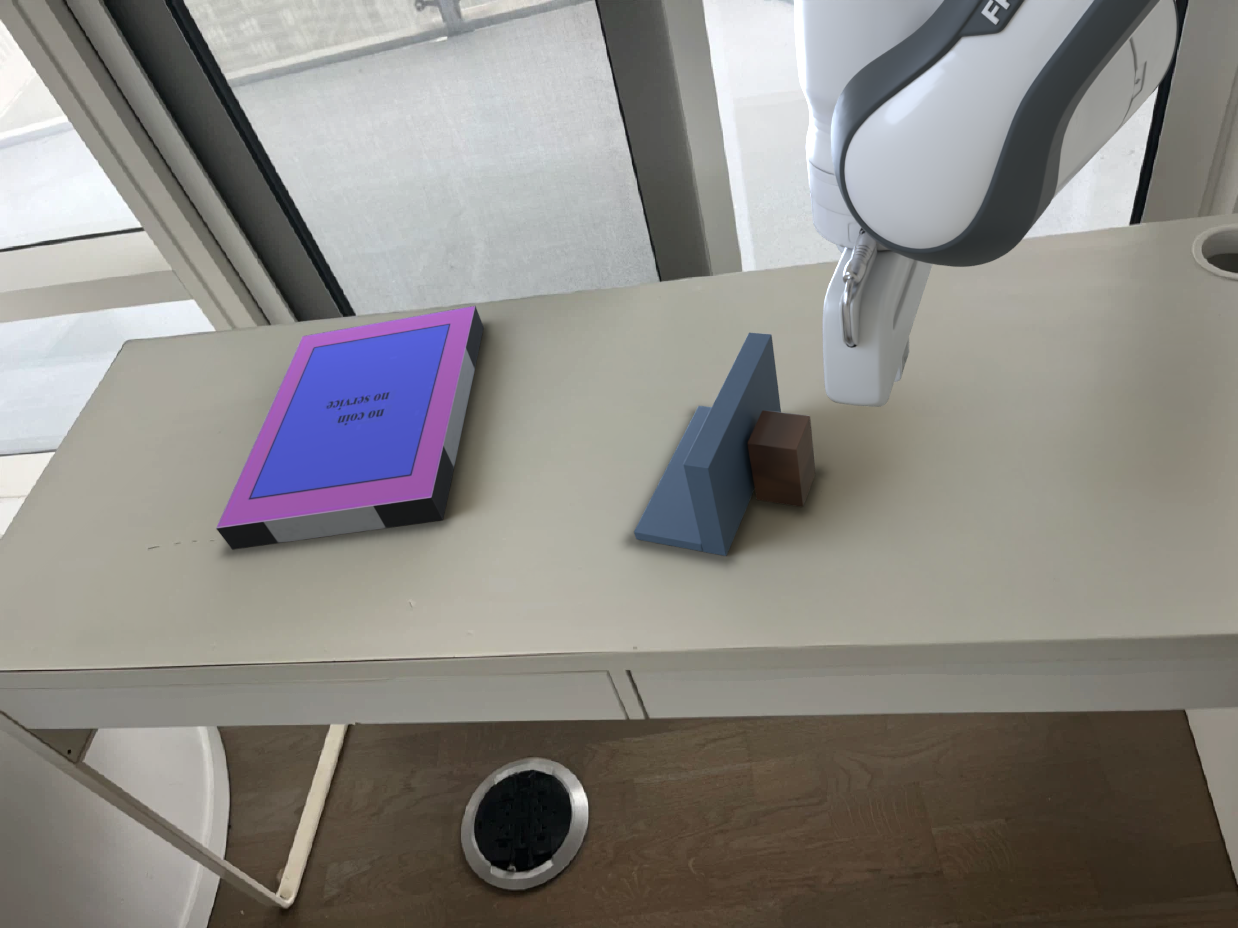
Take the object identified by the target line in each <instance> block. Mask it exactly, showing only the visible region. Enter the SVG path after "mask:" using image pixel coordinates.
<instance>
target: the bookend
mask: <svg viewBox="0 0 1238 928" xmlns="http://www.w3.org/2000/svg"><path fill="white" fill-rule="evenodd" d="M773 342H774V341H773V335H772V333H762V332H761V333H760V332H748V333H747V336H746V337H745V340H744V341H743V344H742V346H741V347H740V350H739V352H738V354H737V356H736V357H735V359H734V362H733V364H732V366H731V368H730V370H729V371H728V373H727V375H726V378H725V380H724V382H723V383H722V386H721V387H720V390H719V391H718V393H717V395H716V398H715V399H714V402H713V403H712V406H705V405H697V407H696V409H695V411H694V414H693V416H692V417H691V420H690V421H689V423H688V425H687V427H686V429H685V431H684V433H683V435H682V437H681V439H680V440H679V443H678V445H677V446H676V448H675V451H674V453H673V454H672V456H671V459H670V460H669V462H668V465H667V466H666V468H665V470H664V472H663V474H662V476H661V478H660V480H659V482H658V484H657V485H656V487H655V489H654V491H653V493H652V495H651V498H650V499H649V501H648V503H647V505H646V507H645V509H644V511H643V513H642V514H641V517H640V519H639V521H638V522H637V525H636V526H635V529H634V531H633V533H634V537H635V539H636V540H639V541H644V542H649V543H653V544H654V543H655V544H659V545H660V544H661V545H664V546H671V547H676V548H681V549H687V550H692V551H698V552H703V553H707V554H713V555H718V556H723V557H727V556H728V553H729V551H730V549H731V546H732V544H733V542H734V539H735V536H736V535H737V532H738V529H739V527H740V526H741V523H742V520H743V518H744V515H745V513H746V510H747V508H748V506H749V503H750V501H751V499H752V497H753V494H754V492H755V487H754V481H753V475H752V468H751V462H750V456H749V450H748V444H747V443H748V441H749V438H750V436H751V434H752V432H753V430H754V427H755V425H756V423H757V421H758V419H759V416H760V414H761V412H762V410H765V411H773V412H782V409H781V407H782V406H781V400H780V392H779V384H778V375H777V368H776V359H775V351H774V343H773Z"/></svg>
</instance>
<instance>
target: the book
mask: <svg viewBox="0 0 1238 928" xmlns="http://www.w3.org/2000/svg"><path fill="white" fill-rule="evenodd" d="M483 332H484V325H483V322H482V320H481V316H480V314H479V311H478V309H477V306H476V305H469V306H464V307H460V308H453V309H448V310H442V311H437V312H430V313H425V314H418V315H413V316H408V317H402V318H396V319H391V320H385V321H380V322H375V323H374V322H373V323H369V324H363V325H357V326H350V327H346V328H340V329H335V330H328V331H322V332H317V333H312V334H305V335H302V336H301V339H300V340H299V343H298V345H297V347H296V349H295V352H294V354H293V356H292V359H291V361H290V363H289V365H288V368H287V370H286V372H285V374H284V377H283V378H282V381H281V383H280V385H279V386H278V390H277V391H276V394H275V397H274V399H273V401H272V403H271V406H270V407H269V409H268V412H267V414H266V416H265V418H264V421H263V423H262V425H261V428H260V430H259V432H258V433H257V436H256V439H255V441H254V443H253V445H252V448H251V449H250V452H249V454H248V456H247V459H246V461H245V463H244V465H243V468H242V469H241V472H240V474H239V477H238V479H237V481H236V483H235V485H234V487H233V489H232V491H231V494H230V496H229V498H228V501H227V503H226V505H225V507H224V510H223V511H222V514H221V517H220V518H219V520H218V523H217V525H216V527H215V529H216V531H217V532H218V533H219V534H220V536H221V537H222V538H223V540H224V541H225V542H226V543H227V545H228V546H229V547H230V549H231V550H238V549H245V548H253V547H259V546H267V545H274V544H281V543H288V542H289V543H290V542H296V541H303V540H310V539H317V538H325V537H331V536H338V535H347V534H354V533H359V532H360V533H361V532H368V531H376V530H382V529H389V528H396V527H403V526H410V525H411V526H412V525H418V524H425V523H432V522H440V521H443V520H444V518H445V513H446V512H445V511H446V507H447V502H448V498H449V493H450V490H451V489H450V488H451V484H452V480H453V474H454V471H455V465H456V460H457V456H458V451H459V446H460V441H461V438H462V437H461V436H462V431H463V427H464V422H465V418H466V413H467V407H468V404H469V399H470V394H471V389H472V385H473V380H474V374H475V370H476V365H477V360H478V355H479V351H480V346H481V343H482V342H481V341H482V336H483Z"/></svg>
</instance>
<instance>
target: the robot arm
mask: <svg viewBox="0 0 1238 928" xmlns="http://www.w3.org/2000/svg"><path fill="white" fill-rule="evenodd" d="M793 7H794V8H793V11H794V12H793V16H794V34H795V49H796V50H795V51H796V61H797V72H798V78H799V84H800V87H801V89H802V92H803V94H804V97H805V100H806V102H807V106H808V111H809V124H808V130H807V133H806V141H805V142H806V143H805V152H806V164H807V166H806V167H807V174H808V176H807V177H808V186H809V194H810V206H811V216H812V217H811V218H812V223H813V227H814V229H815V230H816V232H817V233H818V235H819V236H821V237H822V238H823V239H825V240H826V241H828V242H830V243H832V244H834V245H835V246H836V248H837V250H838V251H839V252H840V253H841V256H840V259H839V260H838V263H837V266H836V268H835V270H834V273H833V275H832V277H831V279H830V282H829V283H828V286H827V290H826V292H825V297H824V302H823V309H822V328H821V329H822V332H821V333H822V356H823V357H822V361H823V362H822V363H823V364H822V365H823V380H824V381H823V383H824V391H825V394H826V396H827V397H828V398H829V400H830V401H832V402H833V403H835V404H840V405H847V406H855V407H856V406H857V407H869V408H870V407H871V408H880V407H883V406H885V405H886V404H887V403H888V402H889V400H890V396H891V393H892V390H893V387H894V383H896V382H897V383H898V382H899V381H901V379H902V376H903V373H904V370H905V366H906V363H907V360H908V357H909V354H910V335H911V332H912V328H913V326H914V323H915V319H916V317H917V314H918V310H919V307H920V304H921V300H922V299H923V295H924V293H925V288H926V286H927V283H928V279H929V277H930V274H931V271H932V268H933V265H935V266H945V267H953V268H966V267H967V268H969V267H976V266H981V265H985V264H988V263H992V262H993V261H996V260H998V259H1000V258H1001V257H1003V256H1005V255H1007V254H1008V253H1010V252H1011V251H1013V250H1014V249H1015V248H1016V246H1018V245H1019V243H1020V242H1021V241H1022V240H1023V239H1024V238H1025V237H1026V235H1027V234H1028V233H1029V231H1031V229H1032V228H1033V226H1035V224H1036V223H1037V221H1038V220H1039V219H1040V218H1041V216H1042V215H1043V214H1044V213H1045V211H1046V210H1047V209H1048V207H1049V206H1050V205H1051V203H1052V200H1053V199H1054V198H1056V196H1058V195H1059V193H1060V192H1061V191H1062V190H1063V189H1064V188H1065V187H1066V186H1067V185H1068V184H1069V183H1070V182H1071V181H1072V180H1073V179H1074V178H1075V177H1076V176H1077V174H1078V173H1079V172H1080V171H1082V169H1083V168H1084V167H1085V166H1086V165H1087V164H1088V163H1089V162H1090V161H1091V160H1092V159H1093V157H1095V156H1096V155H1097V154H1098V153H1099V151H1101V149H1102V148H1104V146H1105V145H1106V144H1107V143H1108V142H1109V141H1110V140H1111V139H1112V137H1114V136H1115V135H1116V134H1117V133H1118V132H1119V131H1120V129H1122V128H1123V126H1124V125H1125V124H1126V123H1127V122H1128V121H1129V120H1130V119H1131V118H1132V117H1133V116H1134V114H1135V113H1136V112H1137V111H1138V110H1139V109H1140V108H1141V107H1142V106H1143V104H1144V103H1145V102H1146V101H1147V100H1148V98H1150V96H1152V94H1154V92H1155V91H1156V90H1157V88H1158V87H1159V86H1160V85H1161V83H1162V82H1163V80H1164V79H1165V77H1166V75H1167V73H1168V71H1169V70H1170V68H1171V65H1172V63H1173V60H1174V57H1175V55H1176V51H1177V45H1178V41H1179V32H1180V31H1179V29H1180V26H1179V24H1180V21H1179V12H1178V5H1177V1H1176V0H793Z"/></svg>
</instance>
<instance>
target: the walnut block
mask: <svg viewBox="0 0 1238 928" xmlns="http://www.w3.org/2000/svg"><path fill="white" fill-rule="evenodd" d="M747 444H748V450H749V456H750V462H751V468H752V475H753V481H754V487H755V489H754V492H755V493H754V494H755V498H756V501H761V502H769V503H774V504H781V505H787V506H793V507H800V508H803V507H804V506H805V503H806V500H807V498H808V495H809V493H810V490H811V486H812V484H813V482H814V480H815V477H816V464H815V463H816V462H815V454H814V453H815V451H814V442H813V433H812V421H811V415H807V414H800V413H799V414H798V413H791V412H782V411H781V412H773V411H765V410H762V412H761V414H760V416H759V419H758V421H757V423H756V425H755V427H754V430H753V432H752V434H751V436H750V438H749V441H748V443H747Z"/></svg>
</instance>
